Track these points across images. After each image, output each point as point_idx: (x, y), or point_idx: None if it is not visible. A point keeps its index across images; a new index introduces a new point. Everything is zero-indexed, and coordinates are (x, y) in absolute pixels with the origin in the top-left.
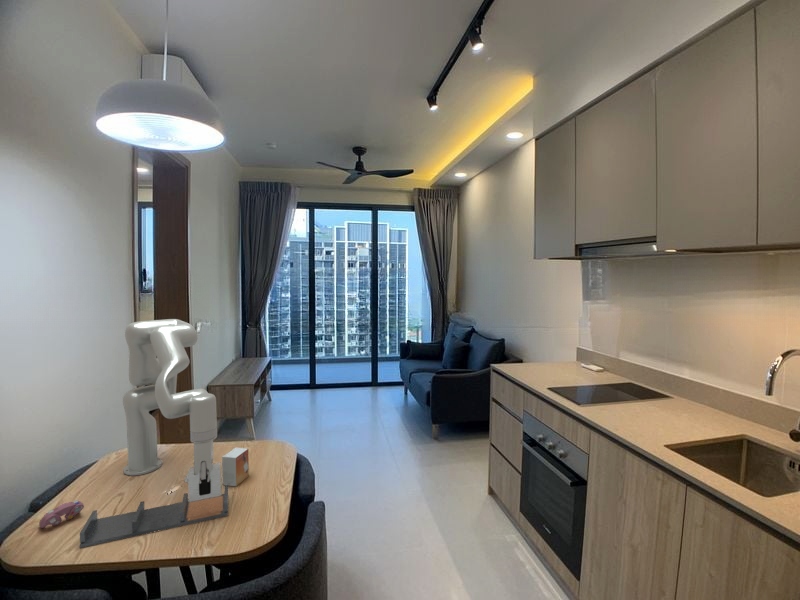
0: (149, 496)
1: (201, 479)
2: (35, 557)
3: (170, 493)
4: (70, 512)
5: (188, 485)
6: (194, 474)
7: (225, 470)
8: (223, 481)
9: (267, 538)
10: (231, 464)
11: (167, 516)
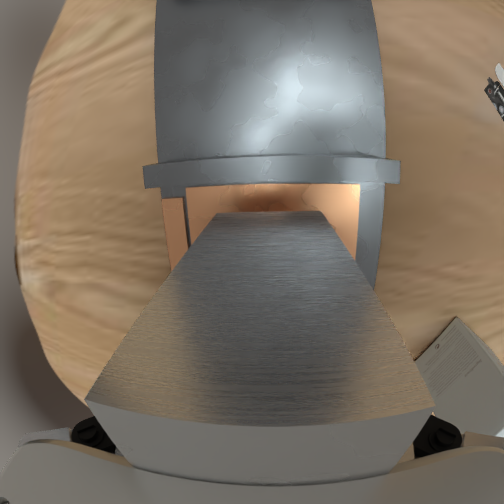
0: (484, 26)
1: (26, 436)
2: None
3: (492, 99)
4: None
5: (175, 270)
6: (21, 446)
7: (476, 373)
8: (460, 329)
9: (81, 398)
10: (463, 422)
11: (249, 80)
